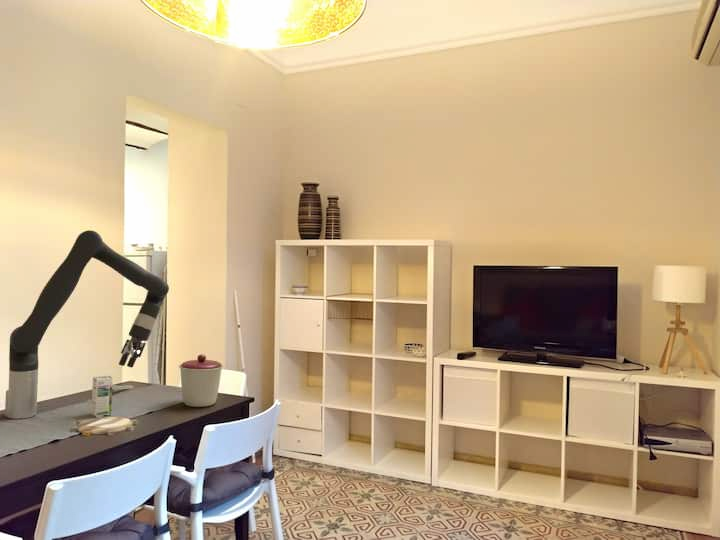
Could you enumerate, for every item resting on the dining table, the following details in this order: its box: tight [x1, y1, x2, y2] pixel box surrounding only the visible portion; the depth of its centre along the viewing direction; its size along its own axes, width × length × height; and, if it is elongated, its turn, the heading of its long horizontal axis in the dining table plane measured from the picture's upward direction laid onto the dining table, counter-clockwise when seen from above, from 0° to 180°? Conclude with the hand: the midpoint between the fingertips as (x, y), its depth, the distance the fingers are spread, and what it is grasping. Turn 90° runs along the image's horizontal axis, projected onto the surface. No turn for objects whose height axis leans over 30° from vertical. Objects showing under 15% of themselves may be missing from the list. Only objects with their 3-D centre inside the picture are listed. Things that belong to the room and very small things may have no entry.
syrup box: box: [91, 375, 113, 417], centre depth 211 cm, size 6×6×14 cm
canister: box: [178, 354, 224, 408], centre depth 233 cm, size 18×18×21 cm
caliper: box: [112, 384, 134, 392], centre depth 248 cm, size 20×1×6 cm, turn 171°
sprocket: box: [70, 415, 139, 437], centre depth 197 cm, size 22×22×1 cm
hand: (125, 366), depth 214 cm, fingers open, 8 cm apart
